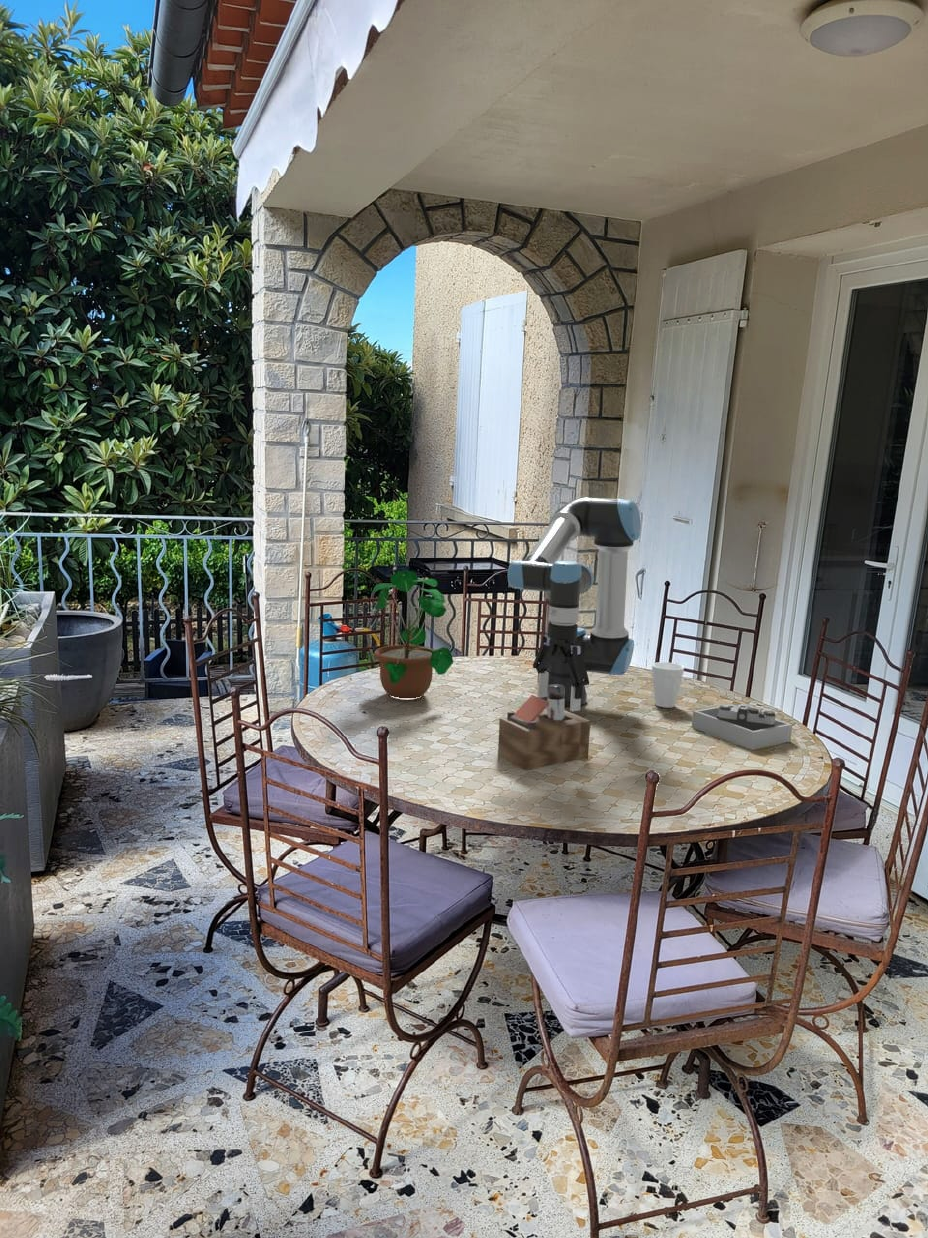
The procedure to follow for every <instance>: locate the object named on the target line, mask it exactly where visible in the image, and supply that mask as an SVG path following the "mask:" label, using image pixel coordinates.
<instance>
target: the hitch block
mask: <svg viewBox="0 0 928 1238" xmlns="http://www.w3.org/2000/svg"><path fill="white" fill-rule="evenodd" d="M515 713H516V712H514V711H508V712H507V716H504V717H499V725H498V745H497V756H498V757H500V758H501V759H504V760H506V761H508V762H509V763H511V764H513V765H515V766H517V767H519V768H521V769H522V770H523V771H529V770H534V769H538V768H544V767H549V766H553V765H554V766H555V765H559V764H564V763H565V764H566V763H568V762H569V763H570V762H575V761H580V760H585V759H589V750H590V749H589V746H590V732H591V720H590V719H587V718H585V717H582V716H581V715H579V714H578V715H577V714H576V713H572V711H568V710H566V709H564V721H559V722H554V721H552V720H550V719H547V710H545V711H544V710H543V712H542V713H541V714H540V715H539V716H538V717H537V718H536V719H535V720H534V721H532V722H529V724H528V727H526V726H524V725H522V724H519V723H517V722H515V721H513V720H511V719H510V717H511V716H513V715H514V714H515Z"/></svg>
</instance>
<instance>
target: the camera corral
mask: <svg viewBox="0 0 928 1238" xmlns="http://www.w3.org/2000/svg"><path fill="white" fill-rule="evenodd" d="M726 705H727V706H729V707H730V708H732V707H735V706H736V705H734V704H726ZM720 706H721V705H720ZM720 706H714V707H708V708H703V709H702V708H701V709H697V710H693V711H692V719H691V728H692V729H695V730H697V731H700V732H702V733H706V734H708V735H711V736H714V737H715V738H718V739H721V740H724V741H727V742H729V743H732V744H734V745H738V746H741V747H743V748H746V749H748V750H751V751H754V750H759V749H764V748H768V747H773V746H776V745H782V743H783V744H786V742H787V743H791V741H792V731H793V724H791V723H788V722H785V721H782V720H779V719H777V718H775V727H770V728H765V729H760V730H755V731H752V730H749V729H747V728H744V727H741V726H738V725H735V724H732V723H730V722H727V721H722V720H718V718H717V715H718V712H719V707H720Z"/></svg>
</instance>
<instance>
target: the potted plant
mask: <svg viewBox="0 0 928 1238" xmlns="http://www.w3.org/2000/svg"><path fill="white" fill-rule="evenodd" d="M419 582H420V583H422V586H421V587H420V590H421V595H419V596H418V598H416V599H417V601H418V603H419V607H417V606H412V609H418V611H417V613H416V616H415V618H414V620H413V621H412V623H411V613H410V612H411V611H410V610H411V609H410V600H409V599H410V598H409V594H408V593H409V591H410V590H411V589H412V588H413V587H414V586H416V585H418V584H419ZM424 584H426V585H429V586H431V587H433V588H430V589H426V588H424V586H425V585H424ZM438 585H439V584H438V581H437V580H436V579H434V578H426V579H425V578H424V579H419V577H418V574H417V573H416V572H415V571H414V570H413V571H412V570H400V571H396V572H393V574H392V575H391V576H390V583H388V582H387V583H386V582H381V583H379V584H376V586H374V587H373V590H372V592H371V593H372V594H375V593H376V592H378V591H379V594H378V596H377V597H378V598H377V601H376V604H375V606H374V609H375V610H380V611H381V610H383V609H384V608H385V607H386V605H388V608H389V612H390V616H391V618H392V622H393V624H394V627H395V629H396V632H397V633H398V636H399V638H400V640H401V642H402V644H396V645H395V644H394V645H393V644H392V645H387V646H386V645H385V646H381V647H379V648H377V649H376V650H375V651H374V652H373V657H374V658H375V659H377V661H378V662H379V679H380V683H381V686H382V688H383V690H384V691H385V692H386V694H388V695H389V696H390V695H391V696H394V697H399V698H416V697H420V696H421V697H422V696H424V695H425V694H426V693H427V691H429V689H430V687H431V685H432V684H431V683H432V681H433V673H434V672H433V671H435V672H436V673H437V675H444V674H446V673H447V672H448V670H449V669H450V668H451V666H452V665H453V663H454V659H453V656H452V653H451V650H450V649H449V648H448V647H444V646H443V647H441V648H437V649H435V648H432V647H428V646H422V645H421V644H423V643H424V642H426V638H427V637H426V636H427V631H426V630H425V628H424V626H425V623H426V619H427V616H430V617H434V618H441V617H443V616H444V615H445V613H446V612H447V611H448V610H447V608H446V606H445V605H444V604H445V602H446V601H445V596H444V594H443V593H441V592H440V591H439V590H438V589H435V588H436V587H438ZM391 588H395V589H397V590H398V591H401V592H406V597H407V607H408V625H407V626H406V623H405V621H404V618H403V615H402V612H401V610H400V607H399V605H398V602H397V601H396V598H395V597H394V596H395V595H393V592H392V591H391ZM424 592H426V593H428V595H423V594H424ZM390 594H391V596H392V598H393V600H394V602H395V605H396V607H397V610H398V611H399V615H400V618H401V620H402V624H403V626H404V630H402V632H401V633H400V631H399V629H398V627H397V624H396V622H395V619H394V617H393V613H392V609H391V606H390V604H389V603H388V598H389V595H390ZM430 595H431V596H430ZM423 612H425V613H426V615H425V617H424V621H423V623H422V626H421V627H418V626H419V623H420V621H421V617H422V615H423ZM405 642H406V643H405Z"/></svg>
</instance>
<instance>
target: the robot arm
mask: <svg viewBox="0 0 928 1238" xmlns="http://www.w3.org/2000/svg"><path fill="white" fill-rule="evenodd" d="M641 526H642V525H641V514H640V510H639V507H638V504H637V503H636V502H635V501H634V500H629V499H622V498H607V497H606V498H602V497H587V496H586V497H580V498H576V499H573V500H572V501H569V502H568V503H566V504H564V505H563V506H561V507H559V508H558V509H557V510H556V511H555V512H554V513H553V514H552V516H551V517H550V519H549V522H548V527H547V528H546V530H545V531H544V533H543V534H542V535H541V537H540V538H539V540H538V541H537V542H536V544H535V545H534V547H533V548H532V549H531V551H530V552H529V553H528V554H527V556H526V558H524V560H521V559H520V560H513V561H511V562H510V563H509V566H508V569H507V582H508V585H509V586H510V587H511V588H513V589H518V590H522V591H525V590H526V591H536V592H537V591H538V592H548V593H549V607H548V608H549V610H548V621H549V622H548V623H547V635H546V636H542V637H541V643H540V646H539V649H538V651H537V654H536V656H535V659H534V661H533V664H532V668H533V669H536V672H537V695H536V697H538V698H541V699H543V700H546V701H547V686H548V685H553V684H558V685H564V686H565V700H564V707H569V712H577V711H581V706H582V705H584V704H586V703H587V700H588V698H587V697H588V694H587V691H586V687H585V686H588V685H590V680H589V676H588V675H589V674H588V672H589V673H596V674H597V673H598V674H603V675H609V676H623V675H625V674H626V673H627V672H628V670H629V667H630V665H631V662H632V659H633V655H634V648H635V641H634V639H632V638H630V637H629V636H630V631H629V630H628V629H627V628H626V627H625V616H626V613H625V612H626V595H627V575H628V559H629V556H628V555H629V550H630V549H631V548H633V546H634V543H635V541H637V540H639V538H640V534H641ZM579 537H588V538H593V539H594V540H593V545H594V546H595V547H596V548H597V549H598V565H597V585H596V587H597V588H596V591H597V592H596V614H595V615H596V616H595V626H594V627H593V628H591V629H590V634H589V633H587V631H586V629H585V628H583V627H579V625H578V624H577V623H578V622H579V618H580V617H579V616H580V597H581V595H582V594H584V593H587V592H588V590H590V589H591V588H592V587H593V584H594V581H595V576H594V572H593V571H592V569H591V568H590V567H589V566H588V565H586V564H581V563H579V562H577V561H573V560H571V561H570V560H559V559H560V557H561V556H562V554H563V553H564V552H565V550H566V548H567V547H568V546H569V544H570V543H571V542H572V541H574V540H576V539H577V538H579Z"/></svg>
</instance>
